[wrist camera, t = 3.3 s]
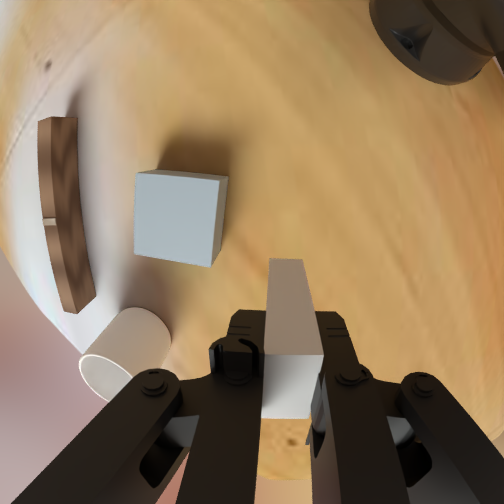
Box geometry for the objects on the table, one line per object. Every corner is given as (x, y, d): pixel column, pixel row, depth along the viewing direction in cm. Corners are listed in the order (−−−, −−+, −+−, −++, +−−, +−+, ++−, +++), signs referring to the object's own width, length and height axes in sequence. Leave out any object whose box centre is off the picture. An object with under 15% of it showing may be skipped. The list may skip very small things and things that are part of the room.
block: (157, 169, 28) (135, 173, 23) (229, 176, 28) (219, 180, 23) (153, 239, 31) (133, 254, 26) (220, 249, 31) (210, 267, 26)
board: (64, 121, 26) (37, 121, 21) (77, 118, 26) (50, 116, 21) (83, 294, 34) (63, 311, 30) (96, 296, 34) (76, 314, 29)
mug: (100, 336, 37) (64, 380, 27) (135, 292, 33) (92, 341, 23) (141, 372, 38) (114, 421, 28) (185, 336, 35) (157, 395, 25)
